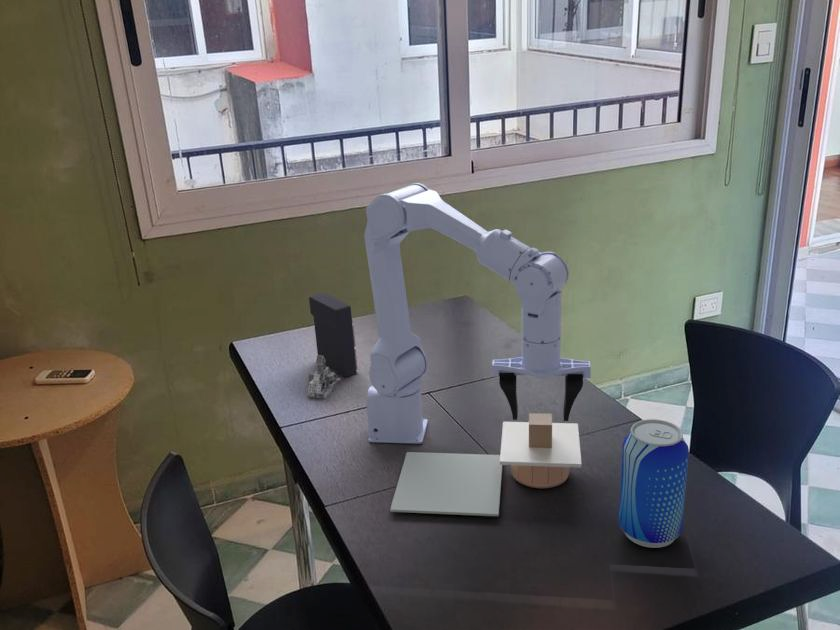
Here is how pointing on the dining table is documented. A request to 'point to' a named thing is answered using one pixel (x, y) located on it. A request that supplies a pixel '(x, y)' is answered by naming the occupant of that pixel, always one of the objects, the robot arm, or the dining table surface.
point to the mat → (449, 484)
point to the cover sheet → (540, 454)
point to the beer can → (653, 483)
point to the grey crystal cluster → (321, 380)
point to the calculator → (334, 333)
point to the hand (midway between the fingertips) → (540, 417)
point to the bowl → (540, 475)
